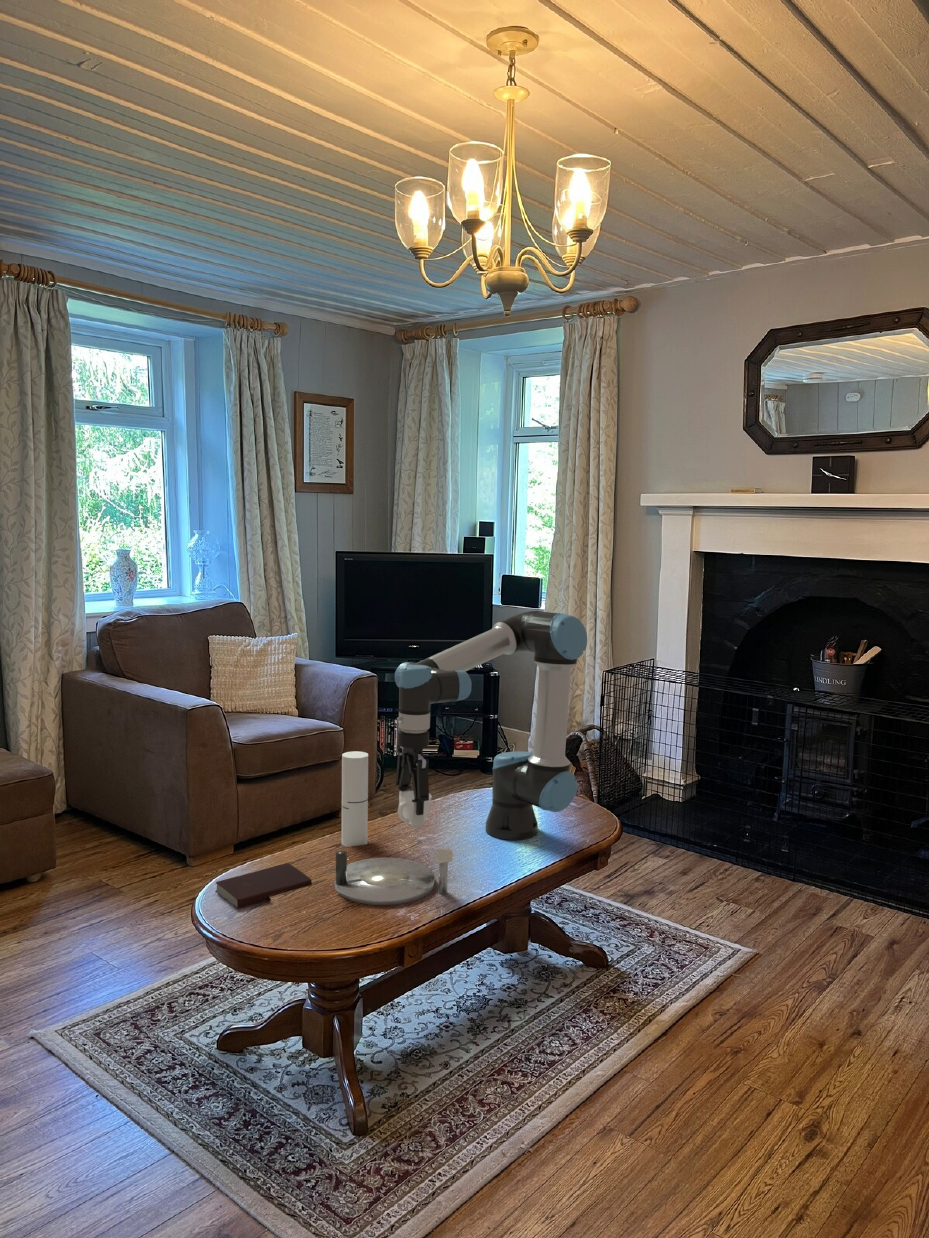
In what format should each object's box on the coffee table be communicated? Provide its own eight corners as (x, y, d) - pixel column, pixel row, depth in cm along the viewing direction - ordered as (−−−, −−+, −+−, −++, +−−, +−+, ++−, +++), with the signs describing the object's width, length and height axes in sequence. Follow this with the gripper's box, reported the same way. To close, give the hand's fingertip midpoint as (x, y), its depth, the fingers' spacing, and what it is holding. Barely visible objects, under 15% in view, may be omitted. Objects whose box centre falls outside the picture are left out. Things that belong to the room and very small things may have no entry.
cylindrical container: (362, 848, 243) (363, 759, 240) (337, 846, 244) (338, 757, 241) (370, 839, 250) (371, 752, 247) (346, 837, 251) (347, 750, 248)
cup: (436, 822, 219) (437, 795, 218) (410, 832, 211) (411, 804, 210) (412, 815, 223) (413, 788, 222) (386, 824, 215) (387, 797, 214)
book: (312, 890, 216) (312, 877, 216) (237, 911, 204) (237, 897, 204) (287, 874, 226) (287, 862, 225) (214, 893, 214) (214, 880, 213)
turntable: (412, 859, 233) (412, 824, 232) (450, 895, 211) (450, 856, 210) (321, 873, 222) (321, 836, 221) (351, 912, 201) (352, 871, 200)
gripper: (383, 721, 223) (381, 810, 225) (416, 740, 204) (413, 837, 206) (411, 719, 226) (408, 807, 228) (446, 738, 208) (442, 833, 210)
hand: (410, 821), depth 217 cm, fingers closed on cup, 8 cm apart
